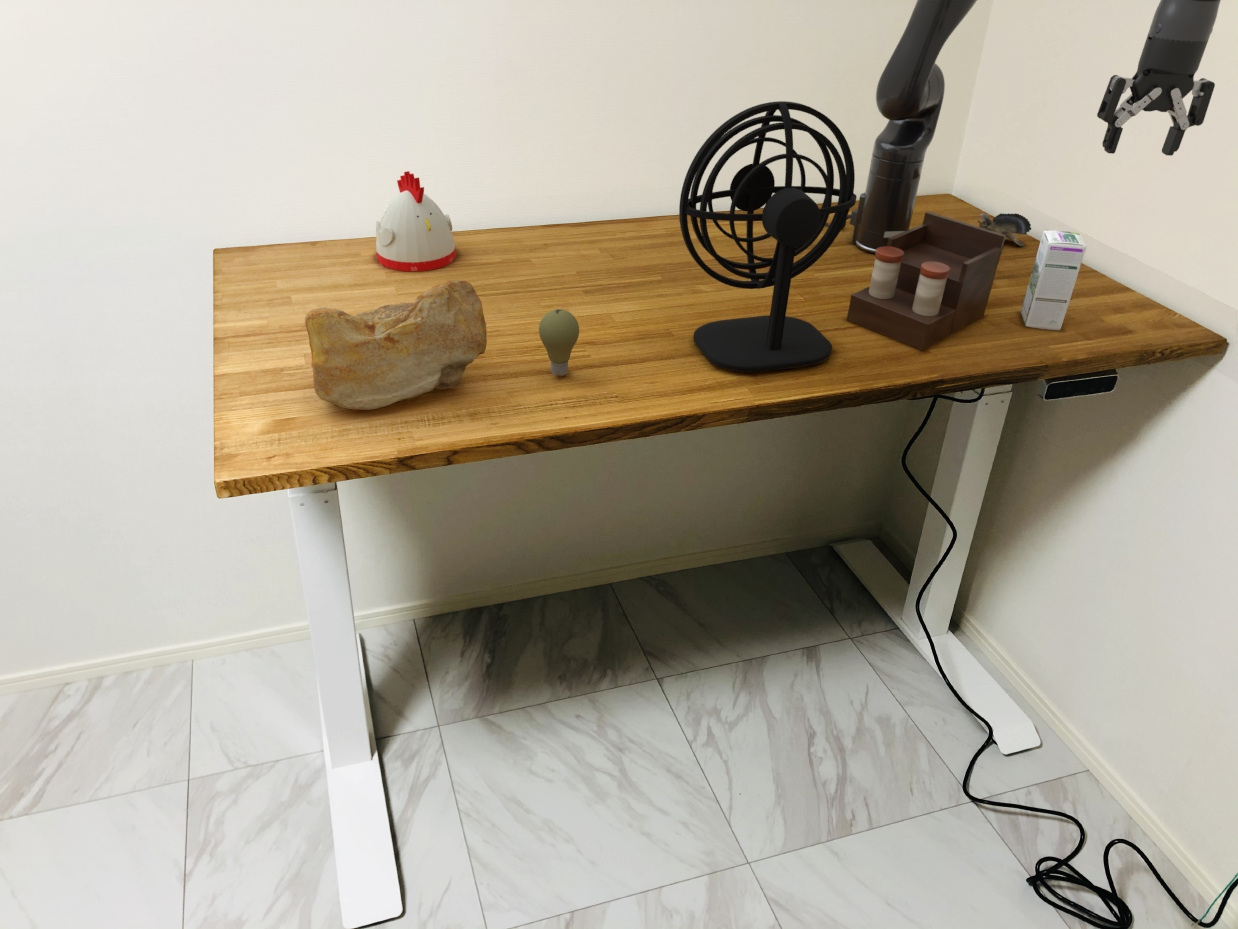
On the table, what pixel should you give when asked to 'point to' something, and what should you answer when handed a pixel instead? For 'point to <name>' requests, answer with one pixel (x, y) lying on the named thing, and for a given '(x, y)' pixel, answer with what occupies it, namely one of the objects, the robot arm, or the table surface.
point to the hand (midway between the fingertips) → (1137, 153)
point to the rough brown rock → (396, 347)
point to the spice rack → (929, 281)
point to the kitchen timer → (414, 231)
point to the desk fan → (767, 236)
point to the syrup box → (1052, 279)
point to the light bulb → (559, 338)
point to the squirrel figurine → (1006, 225)
